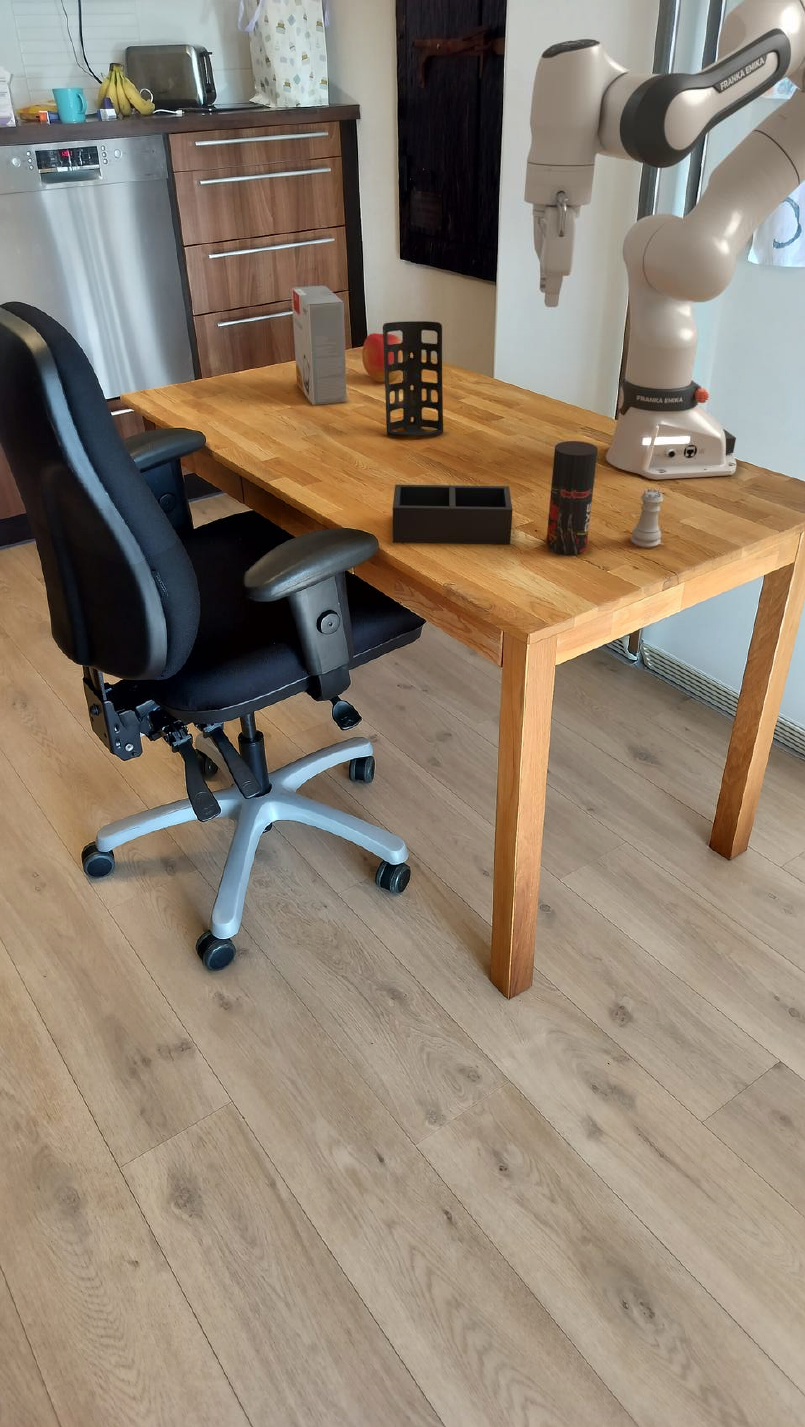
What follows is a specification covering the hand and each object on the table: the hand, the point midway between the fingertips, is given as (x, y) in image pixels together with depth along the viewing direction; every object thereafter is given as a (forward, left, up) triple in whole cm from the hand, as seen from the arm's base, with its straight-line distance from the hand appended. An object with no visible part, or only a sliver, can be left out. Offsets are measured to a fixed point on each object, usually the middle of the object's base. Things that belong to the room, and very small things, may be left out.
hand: (548, 298), depth 139 cm
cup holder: (+13, +7, -32) cm, 35 cm away
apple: (+27, -73, -32) cm, 84 cm away
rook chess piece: (-16, +10, -32) cm, 38 cm away
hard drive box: (+40, -63, -32) cm, 81 cm away
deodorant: (-4, +12, -32) cm, 35 cm away
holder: (+20, -39, -32) cm, 54 cm away
